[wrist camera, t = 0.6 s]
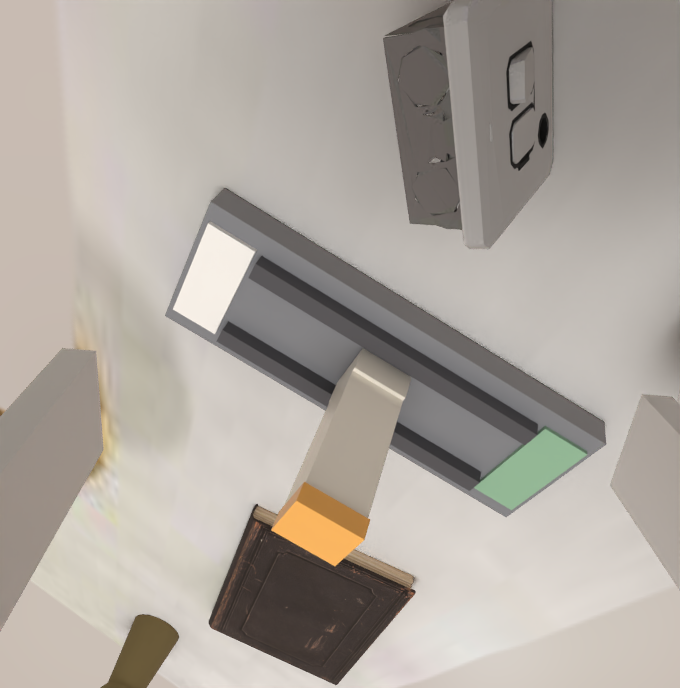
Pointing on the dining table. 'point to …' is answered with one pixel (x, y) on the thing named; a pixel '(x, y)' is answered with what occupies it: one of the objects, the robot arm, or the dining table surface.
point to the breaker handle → (345, 461)
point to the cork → (143, 652)
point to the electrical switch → (473, 112)
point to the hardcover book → (306, 601)
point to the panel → (384, 342)
